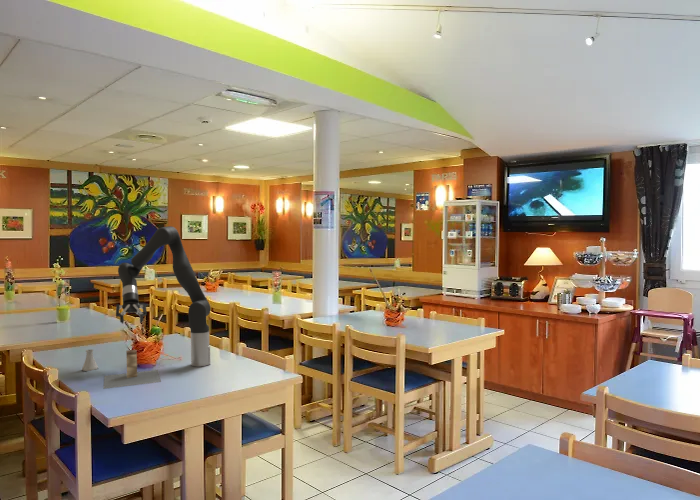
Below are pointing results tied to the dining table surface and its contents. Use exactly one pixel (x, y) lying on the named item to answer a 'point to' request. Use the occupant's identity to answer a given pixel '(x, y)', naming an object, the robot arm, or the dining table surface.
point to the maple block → (131, 363)
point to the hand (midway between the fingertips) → (132, 322)
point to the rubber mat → (131, 379)
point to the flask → (89, 362)
